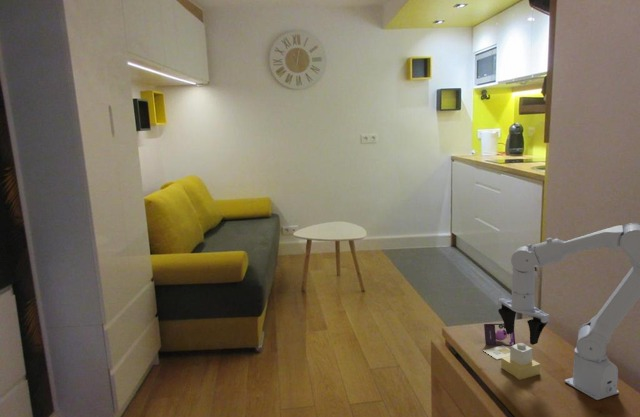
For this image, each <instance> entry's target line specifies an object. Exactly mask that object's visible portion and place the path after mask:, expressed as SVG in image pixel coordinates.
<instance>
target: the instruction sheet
mask: <svg viewBox="0 0 640 417" xmlns="http://www.w3.org/2000/svg"><path fill="white" fill-rule="evenodd" d="M483 351H484V353H485V352H486V353H485V354H487V355H488V354H489V356H490V357H491V356H492V357H491V358H493V359H495V360H496V361H497V360H501V358H503V357H507V356H510V347H508V346H504V345H503V346H494V347H491V348H487V349H483V350H482V352H483Z"/></svg>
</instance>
